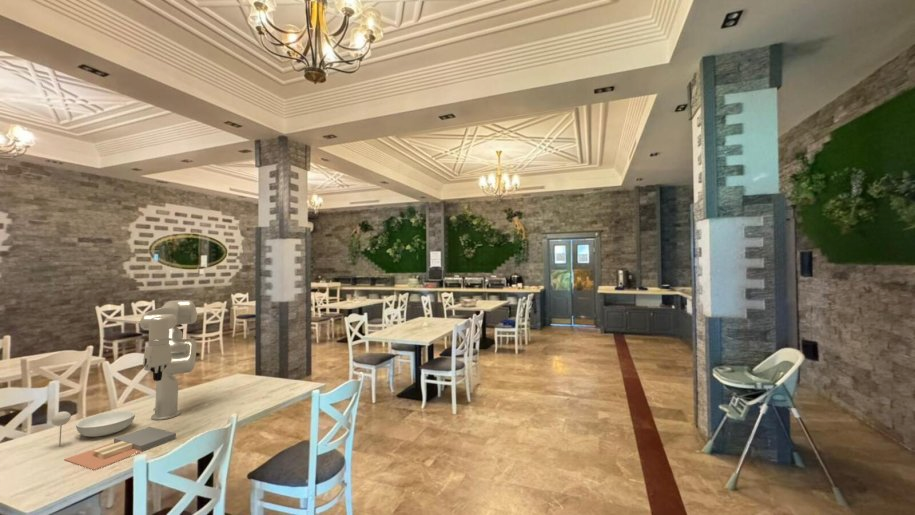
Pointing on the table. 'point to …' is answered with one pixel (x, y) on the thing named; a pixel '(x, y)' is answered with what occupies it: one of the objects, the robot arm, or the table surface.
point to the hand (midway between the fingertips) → (157, 380)
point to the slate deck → (146, 438)
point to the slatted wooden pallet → (112, 450)
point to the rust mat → (95, 462)
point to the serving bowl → (105, 423)
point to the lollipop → (61, 421)
